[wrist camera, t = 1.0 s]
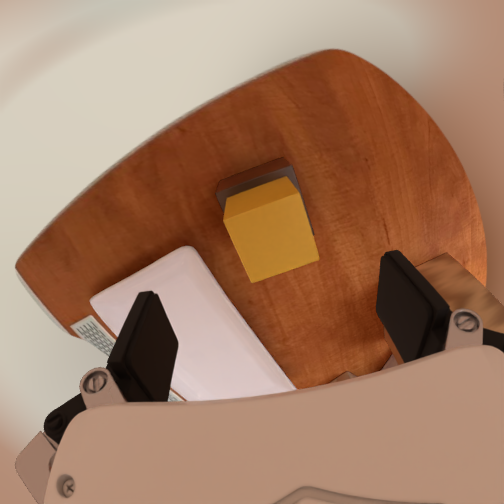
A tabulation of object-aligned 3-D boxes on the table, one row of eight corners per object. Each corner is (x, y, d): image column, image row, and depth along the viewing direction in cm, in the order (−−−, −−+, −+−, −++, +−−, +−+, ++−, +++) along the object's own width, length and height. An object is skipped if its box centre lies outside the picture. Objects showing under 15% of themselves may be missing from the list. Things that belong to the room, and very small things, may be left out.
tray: (195, 230, 30) (190, 243, 27) (299, 382, 43) (302, 398, 40) (95, 287, 33) (85, 302, 30) (215, 407, 46) (214, 422, 43)
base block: (283, 156, 27) (292, 164, 23) (303, 217, 30) (314, 235, 26) (219, 181, 28) (214, 193, 23) (244, 238, 31) (244, 260, 27)
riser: (447, 252, 33) (529, 334, 16) (443, 310, 38) (500, 390, 21) (379, 281, 35) (449, 392, 18) (384, 338, 40) (430, 434, 23)
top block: (286, 175, 23) (299, 192, 18) (305, 231, 25) (320, 259, 21) (226, 197, 24) (222, 220, 19) (249, 251, 26) (251, 283, 21)
